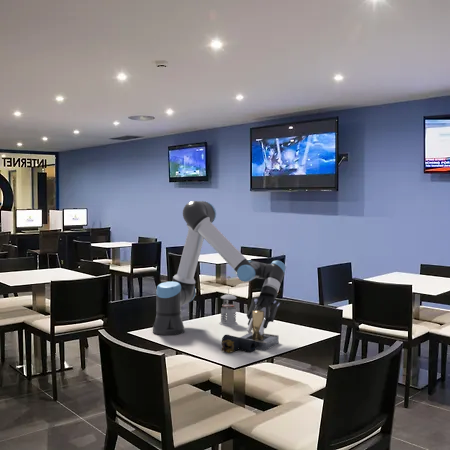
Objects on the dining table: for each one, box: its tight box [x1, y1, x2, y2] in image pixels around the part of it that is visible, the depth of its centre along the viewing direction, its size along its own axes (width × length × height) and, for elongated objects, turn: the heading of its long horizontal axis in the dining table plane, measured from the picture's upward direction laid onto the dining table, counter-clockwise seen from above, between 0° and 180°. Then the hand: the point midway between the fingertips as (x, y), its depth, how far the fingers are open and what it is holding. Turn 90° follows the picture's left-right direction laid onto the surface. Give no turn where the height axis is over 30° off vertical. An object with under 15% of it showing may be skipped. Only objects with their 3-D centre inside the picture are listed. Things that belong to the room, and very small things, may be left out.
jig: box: [240, 331, 279, 351], centre depth 226 cm, size 14×14×3 cm
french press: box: [218, 275, 238, 327], centre depth 266 cm, size 10×12×25 cm
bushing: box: [251, 309, 265, 340], centre depth 225 cm, size 5×5×12 cm
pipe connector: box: [221, 334, 257, 354], centre depth 216 cm, size 12×5×15 cm
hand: (254, 332), depth 222 cm, fingers closed on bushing, 5 cm apart
